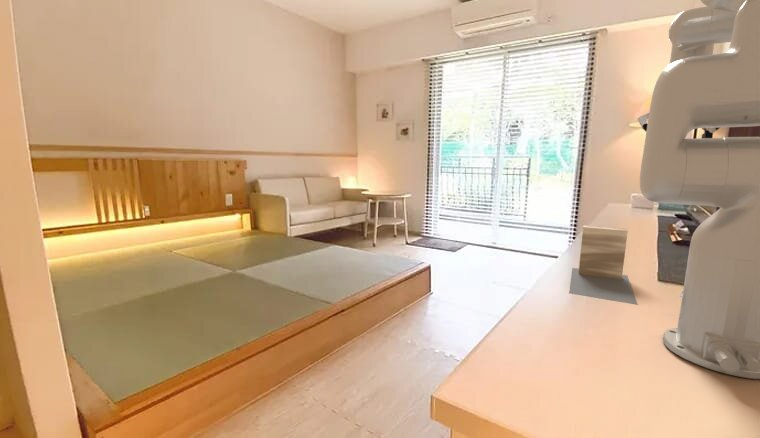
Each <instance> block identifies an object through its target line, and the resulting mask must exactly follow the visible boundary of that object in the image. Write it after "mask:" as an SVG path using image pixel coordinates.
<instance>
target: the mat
mask: <svg viewBox="0 0 760 438" xmlns="http://www.w3.org/2000/svg"><path fill="white" fill-rule="evenodd" d="M568 294H572V295H577V296H585V297H589V298H597V299H601V300H602V299H603V300H607V301H615V302H620V303H627V304H632V305H639V304H638V301H637V299H636V296H635V293H634V290H633V288H632V285H631V282H630V279H629V277H628V275H627V274H622V280H618V279H611V278H604V277H597V276H590V275H583V274H579V267H578V268H577V267H576V268H575V267H572V268H571V276H570V283H569V291H568Z"/></svg>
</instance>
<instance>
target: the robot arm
mask: <svg viewBox="0 0 760 438" xmlns="http://www.w3.org/2000/svg"><path fill="white" fill-rule="evenodd" d="M700 2H701V3H702V4H703V5H705V6H702V7H694V8H689V9H685V10H684V11H682V12H679V13H678V14H677V15H676V16H675V17H674V19H673V20H672V21H671V23H670V25H669V29H668V40H669V42H671V45H672V46H671V53H670V59H669V60H670V62H669V64H668V65H667V66H666V67H665V68H664V69H663V70H662V71H661V72H660V74H659V76H658V78H657V79H656V83H655V85H654V87H653V91H652V95H651V101H650V106H649V112H648V113H646V114H643V115H640V116H639V117H638V118H637V121H638V123H639V124H640V127H641V128H642V130H643V131H645V140H644V146H643V150H642V151H643V152H642V157H641V158H642V159H641V165H640V173H639V190H640V193H641V195H642V196H643V197H644V198H645V199H646V200H648V201H650V202H654V203H657V204H667V205H668V204H669V205H670V204H671V205H687V206H705V207H706V206H707V207H712V208H713V207H714V208H715V207H716V208H718V209H717V210H716V211H715V212H714V213H712V214H711V215H710V216H709V217H707V218H706V219H705V220H704V221H702V222H701V223H700V224H699V225H698V226H697V228H695V230H694V232H693V233H692V236H691V239H690V243H689V250H688V257H687V263H686V268H685V269H686V270H685V278H684V281H683V283H684V284H683V288H682V289H683V291H682V292H683V295H682V297H681V302H680V309H679V317H678V322H677V327H675V328H670V329H667V330H665V331H664V332H663V335H662V342H663V344H664V345H665V347H666V348H667V349H668V350H670V352H672V353H674V354H676V355H677V356H679V357H680V358H683V359H685V360H686V361H689V362H691V363H693V364H696V365H697V366H700V367H702V368H706V369H709V370H711V371H715V372H718V373H722V374H726V375H730V376H735V377H738V378H739V377H740V378H744V379H754V380H755V379H756V380H760V136H729V137H728V136H727V137H723V136H722V137H713V135H714V133H715V132H716V131H718V130H719V129H721V128H741V127H742V128H743V127H760V0H700ZM725 43H729V47H728V50H727V51H726V52H725V53H717V54H716V53H715V54H714V47H715V45H716V44H725ZM696 129H702V131H704V132H703V133H702V134H701V137H700V138H699V137H698V138H686V137H687V136H688V134H689V133H690V132H691V131H693V130H696Z"/></svg>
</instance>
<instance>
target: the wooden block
mask: <svg viewBox="0 0 760 438" xmlns="http://www.w3.org/2000/svg"><path fill="white" fill-rule="evenodd" d="M627 239H628V229H627V228H624V227H623V228H621V227H612V226H611V227H609V226H599V225H598V226H597V225H587V224H586V225H585V224H583V226H582V235H581V244H580V245H581V246H580V255H579V263H578V264H579V265H578V269H579V274H583V275H590V276H597V277H604V278H611V279H618V280H622V275H623V273H624V272H623V271H624V263H625V256H626V255H625V254H626V249H627V248H626V247H627V241H628V240H627Z"/></svg>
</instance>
